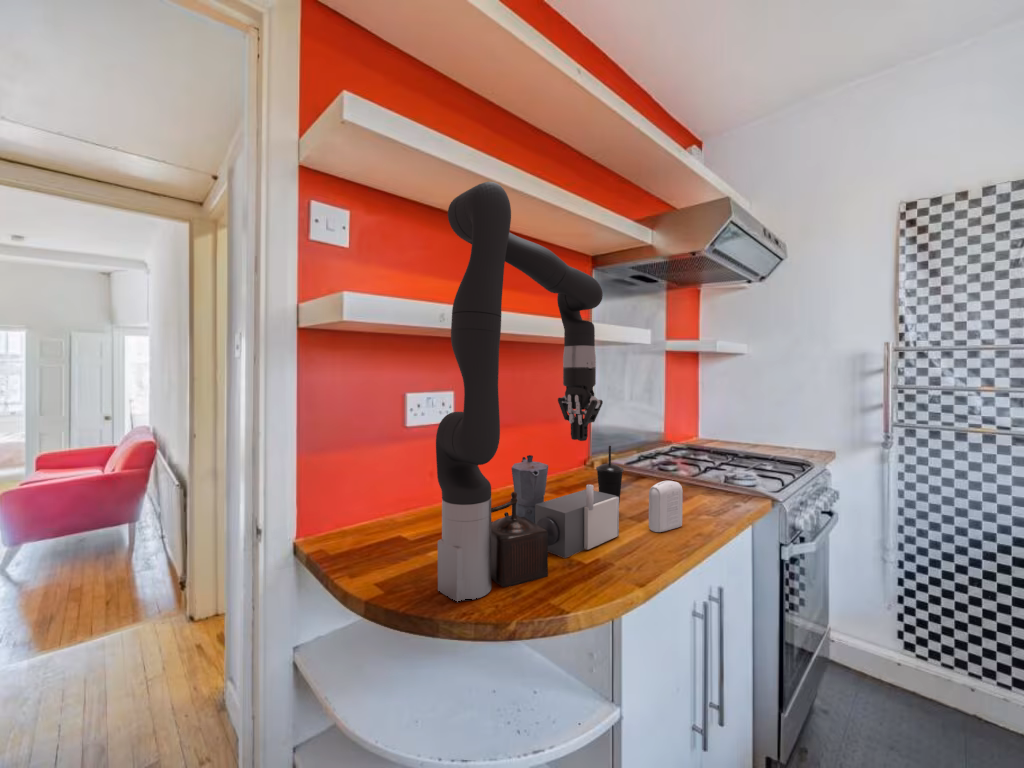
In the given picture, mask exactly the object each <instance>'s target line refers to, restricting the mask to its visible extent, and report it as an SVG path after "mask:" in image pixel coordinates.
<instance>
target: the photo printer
mask: <svg viewBox="0 0 1024 768" xmlns="http://www.w3.org/2000/svg"><path fill="white" fill-rule="evenodd" d="M683 493H684V492H683V487H682V484H680V482H677V481H673V480H663V481H659V482H657V483H655V484H654V485H652V486H651V487H650V488H649V491H648V528H649V530H650V531H651V532H654V533H661V532H667V531H670V530H674V529H677V528H680V527H682V525H683Z"/></svg>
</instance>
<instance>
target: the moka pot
mask: <svg viewBox="0 0 1024 768" xmlns="http://www.w3.org/2000/svg"><path fill="white" fill-rule="evenodd" d="M533 459H534V456H533V455H532V454H530V455H526V457H525V456H522V460H521V462H517V463H516V462H515V463H514V464H513V465H512V466H511V475H512V485H513V492H516V493H517V497H516V498H517V499H518V502H517V503H516V515H518V516H520V517H525V518H527V519H529V520H530V521H532V522H534V523H535V504H538V503H542V502H545V494H546V490H547V489H546V487H547V480H548V472H549V464H546V463H544V462H543V463H542V462H540V461H534V460H533Z"/></svg>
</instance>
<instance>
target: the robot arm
mask: <svg viewBox="0 0 1024 768" xmlns="http://www.w3.org/2000/svg"><path fill="white" fill-rule="evenodd" d="M511 207H512V206H511V202H510V199H509V196H508V193H507V192H506V191H505V188H503V186H502V185H500V184H499V183H497V182H495V181H485V182H482V183H479V184H477V185H475V186H473V187H471V188H470V189H468V190H466V191H464V192H462V193H460V194H459V195H458V196H456V197H454V198H453V200H452V201H450V202H449V206H448V209H447V217H448V218H447V220H448V222H449V226H450V227H451V229H452V231H453V232H454V233H455V235H456V236H458V237H459V239H462V240H463V241H465V242H467V243H468V244H471V250H470V255H469V261H468V264H467V266H466V269H465V272H464V274H463V277H462V279H461V282H460V284H459V286H458V288H457V291H456V293H455V296H454V300H453V303H452V304H453V305H452V309H451V327H450V341H451V349H452V352H453V354H454V357H455V360H456V363H457V366H458V368H459V371H460V374H461V377H462V380H463V381H462V383H463V388H464V389H463V390H464V393H463V394H464V395H463V411H453V412H450V413H447V414H446V415H445V416H444V417H443V418H442V419H441V421H440V422H439V424H438V427H437V430H436V436H435V454H436V455H435V457H436V476H437V483H438V484H439V488H440V490H441V538H440V539H438V540H437V591H438V592H439V591H440V592H439V593H441V594H443V595H444V596H446V597H447V596H448V597H447V598H449V599H451V600H452V599H453V600H452V601H454V600H455V601H457V602H456V603H459V602H458V601H460V602H462V601H466V600H465V599H472V600H477V599H481V598H482V597H485V596H486V595H488V594H489V593H491V590H492V578H491V522H492V513H491V508H492V484H491V482H490V481H489V479H488V478H486V476H485V475H484V474H483V473H482V471H481V468H480V467H479V466H483V465H485V464H487V463H489V462H490V461H492V459H493V458H494V456H496V454H497V451H498V448H499V445H500V438H501V422H500V421H501V420H500V419H501V418H500V402H499V401H500V400H499V368H500V367H499V365H500V362H499V361H500V343H501V333H502V331H501V329H502V302H503V287H504V275H505V273H504V272H505V263H507V264H508V265H510V266H512V267H514V268H516V269H517V270H518V271H521V272H522V273H523V274H525V275H526V276H528V277H529V278H530V279H532V280H533V281H534V282H536V283H537V284H539V286H541V287H543V288H544V289H545V290H546V291H548V292H550V293H552V294H557V307H558V310H559V314H560V318H561V322H562V325H563V330H564V331H563V332H564V336H563V337H564V342H563V343H564V344H563V345H564V346H563V348H564V349H563V356H562V364H563V365H562V383H563V386H564V387H565V392H564V395H563V396H562V397H558V398H557V402H558V405H559V408H560V410H561V413H562V416H563V419H564V420H565V421H568V422H569V424H570V438H571V440H573V441H579V442H584V441H585V442H586V441H587V439H588V435H589V433H588V431H589V427H588V425H589V424H591V423H595V422H596V420H597V417H598V415H599V412H600V410H601V408H602V406H603V400H602V399H598V398H597V397H596V396H595V392H594V387H595V385H596V383H597V382H596V380H597V379H596V375H597V374H596V371H597V370H596V369H597V368H596V366H597V365H596V363H597V361H596V359H597V356H596V349H595V345H596V343H595V342H596V341H595V340H596V338H595V337H596V336H595V332H596V331H595V325H594V323H593V321H590V320H585V319H583V318H582V315H581V311H587V310H593V309H595V308H597V307H598V306H599V305H600V304H601V303H602V300H603V296H604V295H603V289H602V286H601V284H600V283H599V282H598V281H597V279H595V277H593V276H592V275H590V274H588V273H585V272H584V271H582V270H579V269H578V268H575V267H573V266H570V265H568V264H567V263H566V262H565V261H564V260H563V259H562V258H560V257H559V256H558V255H557V254H555V253H554V252H553V251H552V250H550V249H549V248H547V247H545V246H543V245H540V244H538V243H536V242H533V241H530V240H528V239H525V238H523V237H520V236H517V235H515V234H514V233H511V232H510V229H511V224H512V210H511V209H512V208H511ZM476 598H477V599H476ZM461 600H462V601H461ZM455 601H454V602H455Z"/></svg>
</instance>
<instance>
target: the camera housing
mask: <svg viewBox="0 0 1024 768" xmlns="http://www.w3.org/2000/svg"><path fill="white" fill-rule="evenodd" d="M613 497H616V496H615V495H611V494H607V493H602V492H599V490H594V489H593V504H595V503H598V502H601V501H604V500H607V499H610V498H613ZM584 507H586V489H583V490H580V491H576V492H573V493H570V494H565V495H562V496H559V497H555V498H553V499H550V500H546V501H545V500H544V502H542V503H538V504H535V524H537V525H539V526H540V527H542V528H544V529H545V530H547V532H548V553H550V554H553V555H555V556H558V557H560V558H562V559H568V558H569V557H571V556H574V555H576V554H578V553H581V552H583V551H585V550H586V549H584Z"/></svg>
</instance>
